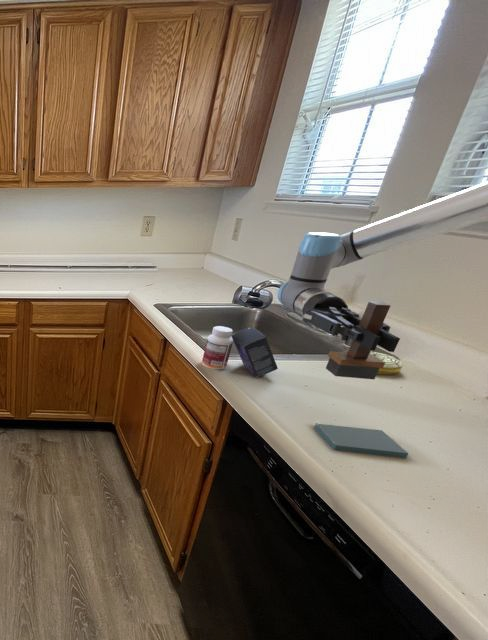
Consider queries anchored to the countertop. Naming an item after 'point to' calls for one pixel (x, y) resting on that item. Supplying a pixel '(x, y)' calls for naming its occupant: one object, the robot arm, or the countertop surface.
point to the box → (254, 351)
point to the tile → (360, 440)
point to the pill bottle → (218, 348)
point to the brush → (360, 348)
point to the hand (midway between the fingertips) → (384, 344)
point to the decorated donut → (388, 363)
